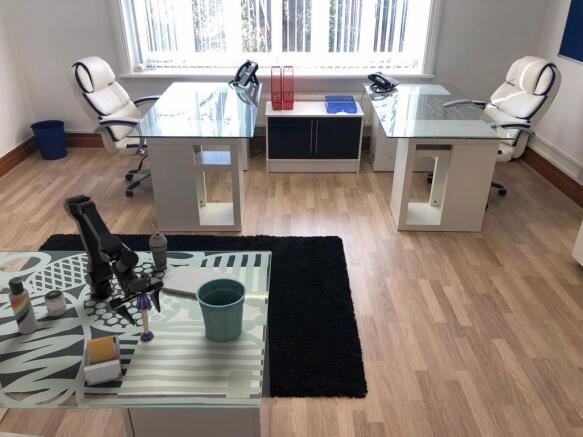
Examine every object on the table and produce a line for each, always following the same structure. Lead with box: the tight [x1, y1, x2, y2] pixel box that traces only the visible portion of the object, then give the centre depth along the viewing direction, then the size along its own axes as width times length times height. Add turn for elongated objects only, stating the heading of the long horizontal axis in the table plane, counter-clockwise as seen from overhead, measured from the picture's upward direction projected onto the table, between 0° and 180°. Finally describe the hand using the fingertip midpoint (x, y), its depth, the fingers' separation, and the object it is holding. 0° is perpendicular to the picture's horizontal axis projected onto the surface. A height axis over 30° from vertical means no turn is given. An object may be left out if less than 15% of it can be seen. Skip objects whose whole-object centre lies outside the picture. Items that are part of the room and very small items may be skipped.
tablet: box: [162, 265, 237, 297], centre depth 187 cm, size 16×26×2 cm, turn 75°
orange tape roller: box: [83, 334, 123, 387], centre depth 148 cm, size 18×10×6 cm, turn 20°
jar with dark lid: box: [43, 289, 67, 317], centre depth 169 cm, size 6×6×8 cm
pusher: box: [86, 335, 116, 363], centre depth 147 cm, size 1×7×8 cm, turn 110°
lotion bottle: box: [7, 277, 39, 335], centre depth 158 cm, size 6×6×20 cm
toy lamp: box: [135, 293, 155, 342], centre depth 156 cm, size 5×5×17 cm
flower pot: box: [195, 278, 247, 342], centre depth 160 cm, size 16×16×16 cm
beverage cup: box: [148, 224, 168, 271], centre depth 193 cm, size 7×7×20 cm
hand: (147, 318), depth 155 cm, fingers open, 9 cm apart
